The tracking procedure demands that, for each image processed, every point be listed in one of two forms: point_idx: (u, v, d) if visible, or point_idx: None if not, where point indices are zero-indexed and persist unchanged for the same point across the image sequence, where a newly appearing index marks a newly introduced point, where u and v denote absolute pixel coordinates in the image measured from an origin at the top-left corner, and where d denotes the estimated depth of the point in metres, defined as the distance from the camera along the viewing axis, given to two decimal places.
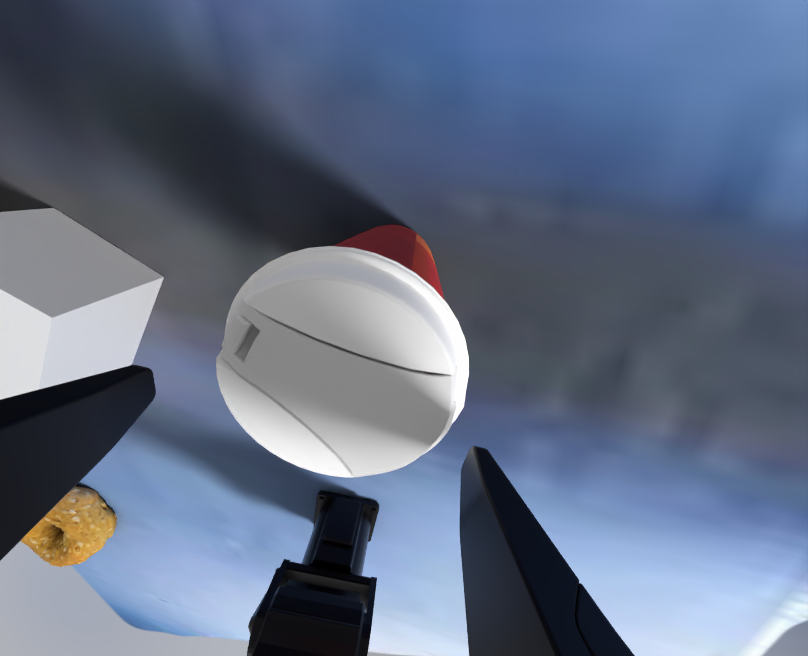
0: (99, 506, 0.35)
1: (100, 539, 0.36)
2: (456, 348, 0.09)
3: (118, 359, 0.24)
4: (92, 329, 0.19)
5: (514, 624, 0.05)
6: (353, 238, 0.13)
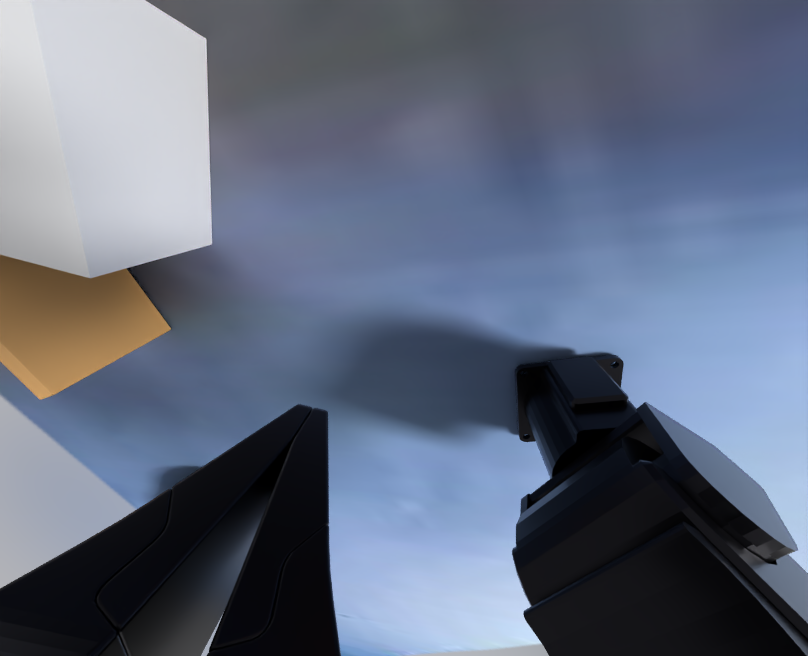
0: None
1: None
2: None
3: (189, 212, 0.17)
4: (120, 69, 0.11)
5: None
6: None
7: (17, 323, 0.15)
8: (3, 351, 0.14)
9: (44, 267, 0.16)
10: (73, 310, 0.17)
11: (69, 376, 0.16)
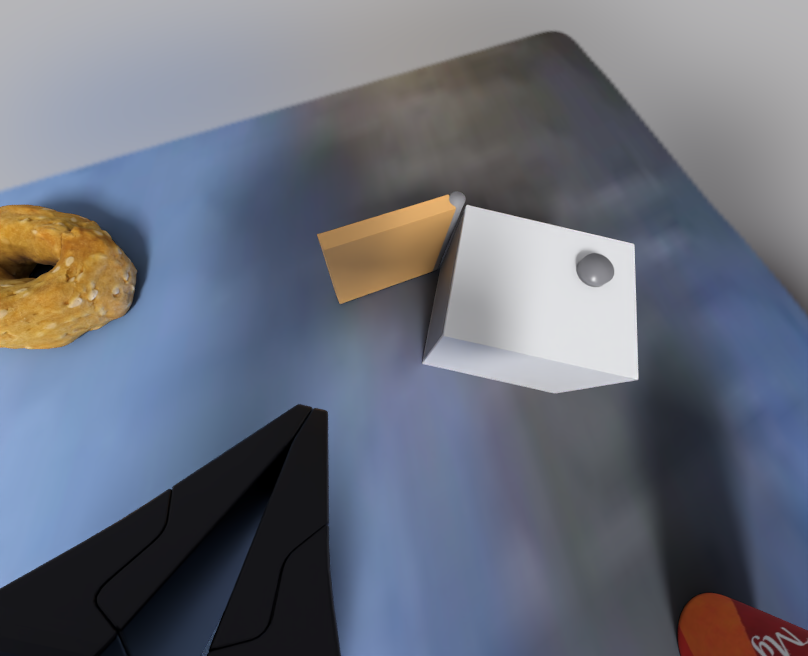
0: (97, 324, 0.20)
1: (5, 340, 0.18)
2: None
3: (456, 365, 0.21)
4: (560, 376, 0.18)
5: None
6: None
7: (387, 240, 0.17)
8: (370, 229, 0.16)
9: (416, 252, 0.20)
10: (382, 261, 0.19)
11: (333, 258, 0.17)
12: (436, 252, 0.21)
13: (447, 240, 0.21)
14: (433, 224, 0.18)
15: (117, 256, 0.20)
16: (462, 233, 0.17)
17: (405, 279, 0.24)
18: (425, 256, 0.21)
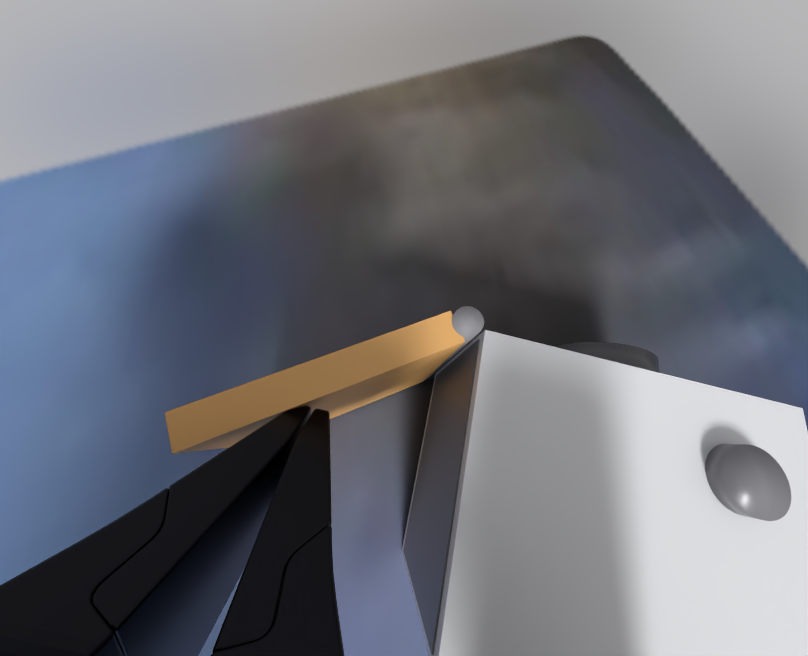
0: None
1: None
2: None
3: None
4: None
5: None
6: None
7: (329, 399, 0.09)
8: (284, 396, 0.08)
9: (393, 384, 0.12)
10: (329, 408, 0.11)
11: (212, 444, 0.08)
12: (428, 373, 0.13)
13: (446, 361, 0.12)
14: (420, 363, 0.09)
15: None
16: (477, 394, 0.08)
17: (379, 398, 0.15)
18: (409, 380, 0.13)
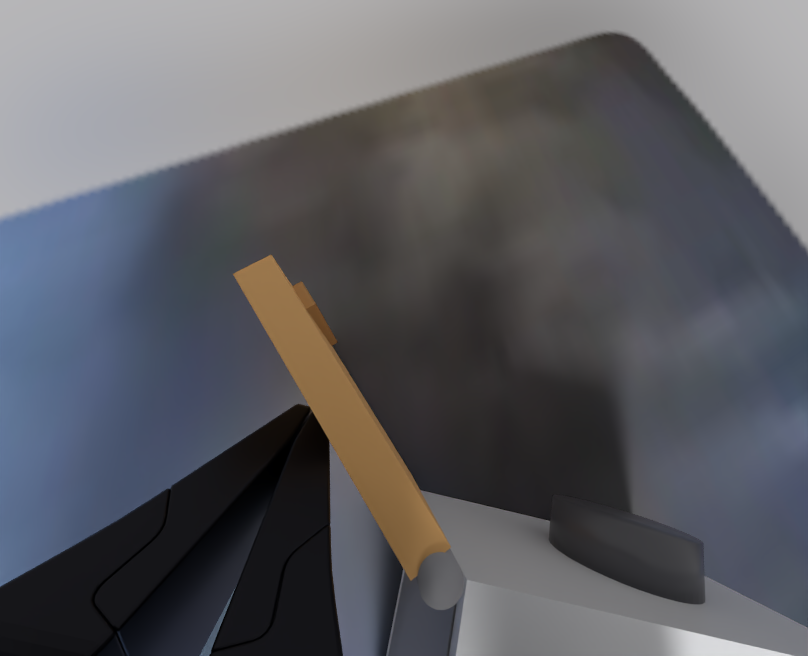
0: None
1: None
2: None
3: None
4: None
5: None
6: None
7: None
8: (300, 359, 0.07)
9: None
10: None
11: None
12: None
13: None
14: None
15: None
16: None
17: None
18: None
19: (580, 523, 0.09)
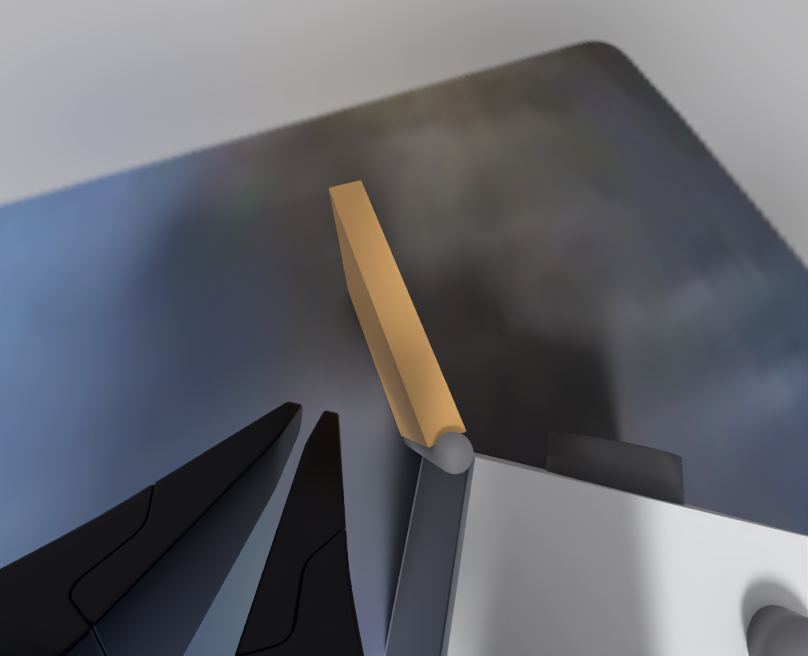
0: None
1: None
2: None
3: None
4: None
5: None
6: None
7: (370, 308, 0.09)
8: (369, 261, 0.08)
9: (390, 386, 0.11)
10: (367, 322, 0.11)
11: (336, 221, 0.10)
12: (405, 431, 0.12)
13: (416, 449, 0.10)
14: (405, 399, 0.08)
15: None
16: (464, 549, 0.07)
17: (383, 386, 0.15)
18: (396, 409, 0.12)
19: (573, 444, 0.10)
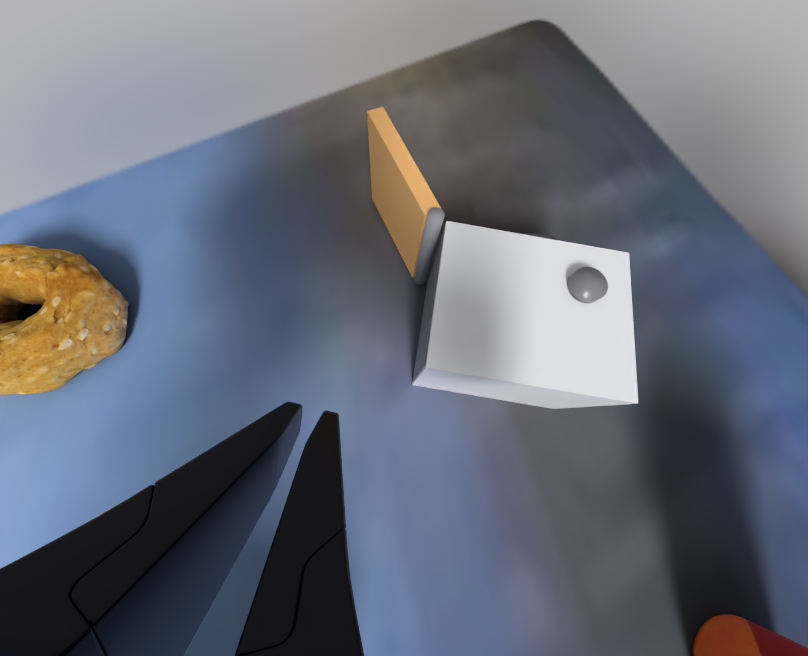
0: (91, 363, 0.20)
1: None
2: None
3: (446, 387, 0.20)
4: (555, 398, 0.17)
5: None
6: None
7: (392, 170, 0.18)
8: (391, 143, 0.17)
9: (404, 226, 0.20)
10: (389, 193, 0.20)
11: (370, 131, 0.19)
12: (414, 254, 0.21)
13: (421, 253, 0.19)
14: (413, 207, 0.17)
15: (106, 291, 0.20)
16: (443, 252, 0.16)
17: (399, 249, 0.24)
18: (409, 244, 0.21)
19: None
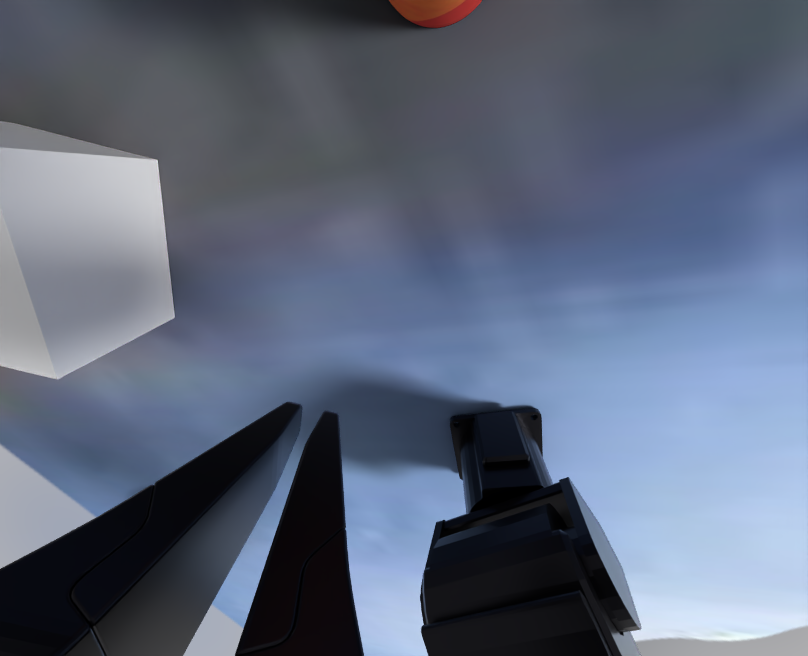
0: None
1: None
2: None
3: (150, 299, 0.19)
4: (76, 214, 0.14)
5: None
6: None
7: None
8: None
9: None
10: None
11: None
12: None
13: None
14: None
15: None
16: None
17: None
18: None
19: None
